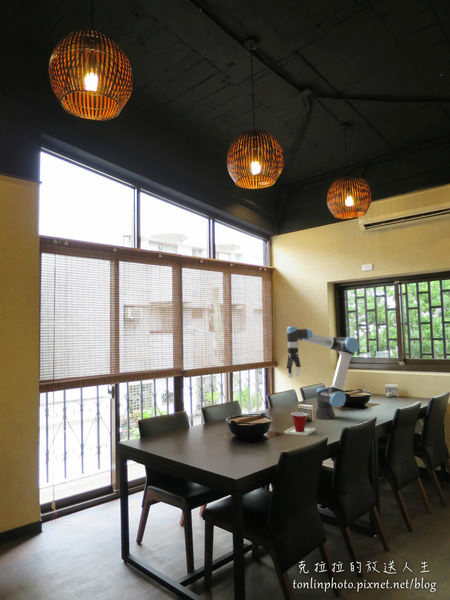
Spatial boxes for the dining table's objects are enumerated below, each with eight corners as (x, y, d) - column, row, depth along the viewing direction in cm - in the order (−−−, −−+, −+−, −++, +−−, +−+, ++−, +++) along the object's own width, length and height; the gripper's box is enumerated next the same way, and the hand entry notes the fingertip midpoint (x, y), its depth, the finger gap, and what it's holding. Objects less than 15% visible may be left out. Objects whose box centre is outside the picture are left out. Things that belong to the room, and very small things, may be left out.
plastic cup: (302, 433, 278) (302, 415, 279) (289, 431, 285) (288, 413, 286) (311, 430, 286) (310, 412, 287) (297, 428, 293) (296, 411, 294)
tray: (293, 428, 297) (293, 426, 297) (315, 430, 288) (315, 428, 288) (284, 433, 283) (284, 431, 283) (307, 435, 275) (306, 433, 275)
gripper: (294, 346, 324) (296, 375, 322) (281, 348, 303) (282, 378, 301) (303, 346, 320) (305, 375, 318) (290, 348, 299) (292, 378, 297)
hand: (294, 376), depth 309 cm, fingers open, 13 cm apart
